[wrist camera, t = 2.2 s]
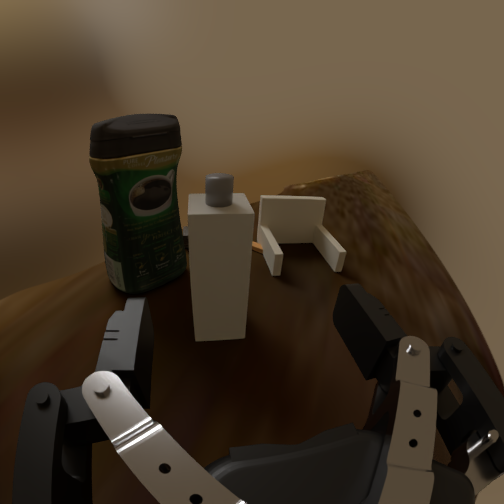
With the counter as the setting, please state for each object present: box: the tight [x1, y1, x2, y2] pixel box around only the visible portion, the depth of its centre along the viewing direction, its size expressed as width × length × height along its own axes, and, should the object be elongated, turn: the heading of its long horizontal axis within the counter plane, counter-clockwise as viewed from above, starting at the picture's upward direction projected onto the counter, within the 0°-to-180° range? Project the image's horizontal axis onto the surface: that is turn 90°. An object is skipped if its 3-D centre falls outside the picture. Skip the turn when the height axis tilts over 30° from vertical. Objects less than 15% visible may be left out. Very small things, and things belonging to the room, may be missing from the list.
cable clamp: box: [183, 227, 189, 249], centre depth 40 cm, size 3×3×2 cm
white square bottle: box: [188, 173, 255, 341], centre depth 23 cm, size 4×4×14 cm
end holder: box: [257, 195, 346, 276], centre depth 38 cm, size 10×9×7 cm
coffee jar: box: [89, 114, 187, 294], centre depth 28 cm, size 10×8×19 cm
